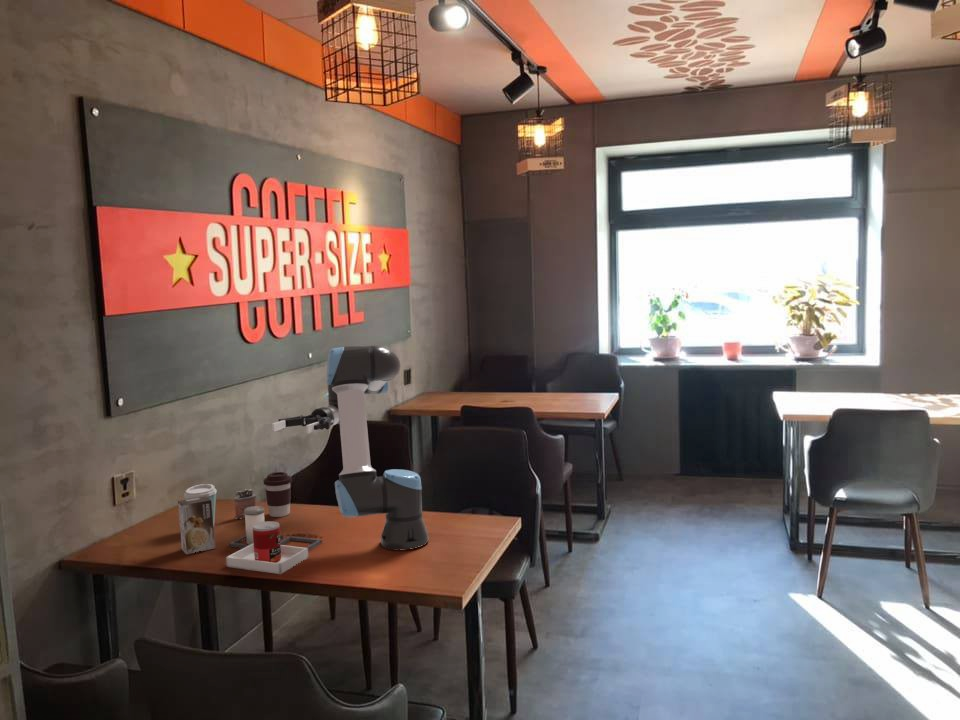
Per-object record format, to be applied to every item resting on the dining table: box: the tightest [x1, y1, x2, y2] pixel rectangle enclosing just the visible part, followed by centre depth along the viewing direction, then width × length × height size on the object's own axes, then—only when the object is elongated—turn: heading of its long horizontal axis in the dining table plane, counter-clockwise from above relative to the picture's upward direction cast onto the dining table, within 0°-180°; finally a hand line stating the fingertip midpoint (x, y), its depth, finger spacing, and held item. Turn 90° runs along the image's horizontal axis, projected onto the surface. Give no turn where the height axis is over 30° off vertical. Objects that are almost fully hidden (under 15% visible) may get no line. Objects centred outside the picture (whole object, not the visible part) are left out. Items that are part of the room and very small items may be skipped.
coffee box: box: [177, 496, 216, 555], centre depth 253 cm, size 9×6×16 cm
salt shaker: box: [244, 505, 266, 545], centre depth 258 cm, size 6×6×11 cm
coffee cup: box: [263, 471, 293, 518], centre depth 288 cm, size 10×10×15 cm
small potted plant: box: [233, 488, 257, 519], centre depth 287 cm, size 8×3×10 cm, turn 130°
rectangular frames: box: [228, 534, 323, 552], centre depth 256 cm, size 27×12×1 cm, turn 68°
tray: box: [225, 543, 309, 575], centre depth 240 cm, size 19×14×3 cm
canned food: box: [253, 520, 281, 563], centre depth 240 cm, size 8×8×11 cm
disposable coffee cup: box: [183, 483, 218, 527], centre depth 272 cm, size 11×11×15 cm
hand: (290, 428), depth 267 cm, fingers open, 13 cm apart
